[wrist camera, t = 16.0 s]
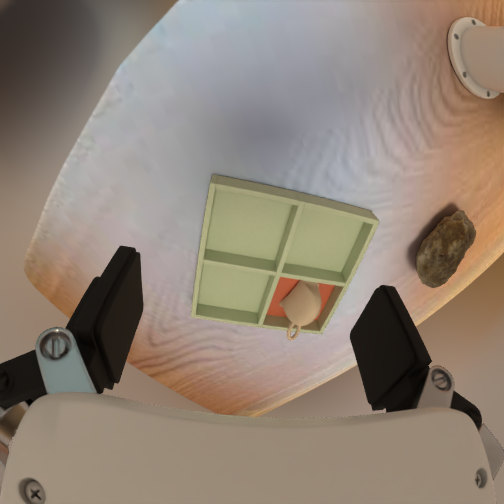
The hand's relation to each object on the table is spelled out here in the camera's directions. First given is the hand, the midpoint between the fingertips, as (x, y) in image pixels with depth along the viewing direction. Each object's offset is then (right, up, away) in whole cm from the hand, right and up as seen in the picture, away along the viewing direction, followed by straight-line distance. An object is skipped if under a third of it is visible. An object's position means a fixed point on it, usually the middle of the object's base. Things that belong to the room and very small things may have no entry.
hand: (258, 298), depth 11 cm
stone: (+30, +4, +28) cm, 41 cm away
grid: (+3, 0, +29) cm, 29 cm away
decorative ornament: (+7, -5, +32) cm, 33 cm away
